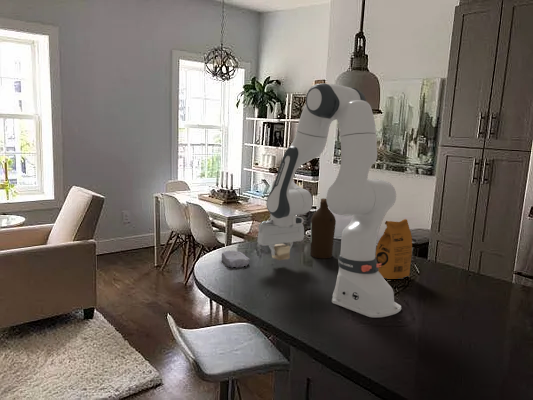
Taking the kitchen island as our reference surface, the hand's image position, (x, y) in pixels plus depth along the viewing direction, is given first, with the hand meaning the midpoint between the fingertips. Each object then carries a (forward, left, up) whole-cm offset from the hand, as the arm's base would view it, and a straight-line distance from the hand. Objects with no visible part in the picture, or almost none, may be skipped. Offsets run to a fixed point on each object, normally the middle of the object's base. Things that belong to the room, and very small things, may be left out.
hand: (280, 253), depth 172 cm
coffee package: (-29, -31, -5) cm, 43 cm away
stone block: (+12, +13, -6) cm, 19 cm away
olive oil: (+5, -25, -5) cm, 26 cm away
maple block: (0, 0, -2) cm, 2 cm away
